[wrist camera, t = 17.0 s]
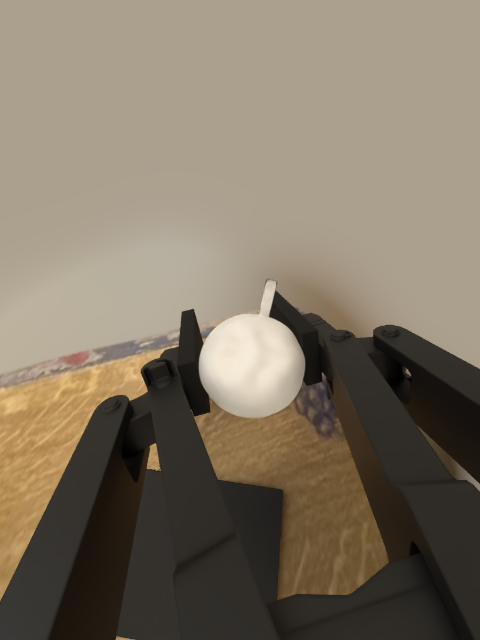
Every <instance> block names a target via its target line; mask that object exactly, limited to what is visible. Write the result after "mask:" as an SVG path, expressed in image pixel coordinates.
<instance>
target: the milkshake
mask: <svg viewBox="0 0 480 640" xmlns="http://www.w3.org/2000/svg"><path fill="white" fill-rule="evenodd" d="M276 286H277V281H276V280H273V279H267V280H266V283H265V288H264V292H263V297H262V302H261V306H260V311H259V315H258V314H241V315H237V316H234V317H231V318H229V319H227V320H226V321H224V322H222V323H221V324H220V325H218V326H217V327H216V328H215V329H214V330H213V331H212V332H211V333H210V334H209V336H208V337H207V339H206V341H205V343H204V345H203V348H202V350H201V353H200V357H199V375H200V380H201V383H202V385H203V387H204V389H205V390H206V392H207V393H208V395H209V396H210V398H211V399H212V400H213V401H214V402H215V403H216V404H217V405H218V406H219V407H220V408H221V409H223V410H224V411H226V412H228V413H230V414H233V415H236V416H239V417H244V418H262V417H266V416H269V415H272V414H275V413H277V412H279V411H281V410H282V409H284V408H285V407H287V406H288V405H289V404H290V403H291V402H292V401H293V400H294V398H295V397H296V396H297V394H298V392H299V390H300V388H301V385H302V382H303V377H304V372H305V357H304V354H303V351H302V349H301V347H300V345H299V343H298V341H297V339H296V337H295V336H294V334H293V333H292V331H291V330H290V329H289V328H288V327H286V326H285V325H284V324H282V323H281V322H279V321H277V320H275V319H273V318H270V317H269V314H270V310H271V306H272V302H273V298H274V294H275V290H276Z"/></svg>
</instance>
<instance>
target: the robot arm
mask: <svg viewBox="0 0 480 640" xmlns="http://www.w3.org/2000/svg"><path fill="white" fill-rule="evenodd" d="M269 317H270V318H273V319H275V320H277V321H279V322H281V323H282V324H284V325H285V326H286V327H288V328H289V329H290V330H291V331H292V333H293V334H294V336H295V337H296V339H297V341H298V343H299V345H300V347H301V349H302V351H303V354H304V357H305V372H304V377H303V381H304V382H305V384H306V385H307V386H309V385H312V384H316V383H320V382H322V372H323V374H324V375H325V376H326V380H327V393H328V399H332V401H333V404H334V407H335V410H336V412H337V415H338V418H339V421H340V423H341V426H342V429H343V432H344V434H345V437H346V440H347V443H348V446H349V448H350V451H351V454H352V457H353V459H354V462H355V465H356V468H357V470H358V473H359V476H360V479H361V482H362V484H363V487H364V490H365V493H366V495H367V498H368V501H369V504H370V506H371V509H372V512H373V515H374V518H375V520H376V523H377V526H378V529H379V531H380V534H381V537H382V540H383V542H384V545H385V548H386V552H387V556H388V560H389V563H388V564H387V565H385V566H384V567H383V568H382V569H381V570H379V571H378V572H377V573H376V574H375V575H373V576H372V577H371V578H370V579H369V580H368V581H366V582H365V583H364V584H363V585H362V586H360V587H359V588H358V589H357V590H356V591H354V592H353V593H352V594H349V595H318V594H295V595H292V596H289V597H286V598H284V599H281V600H278V601H275V602H272V603H269V604H266V603H265V600H264V597H263V595H262V592H261V590H260V587H259V584H258V582H257V579H256V576H255V574H254V571H253V569H252V566H251V563H250V561H249V558H248V556H247V553H246V550H245V548H244V545H243V543H242V540H241V538H240V535H239V533H238V532H237V529H236V527H235V524H234V521H233V519H232V516H231V514H230V511H229V508H228V506H227V503H226V501H225V498H224V495H223V493H222V490H221V487H220V485H219V482H218V480H217V477H216V474H215V472H214V469H213V466H212V464H211V461H210V459H209V456H208V453H207V451H206V448H205V445H204V443H203V440H202V438H201V435H200V432H199V430H198V427H197V424H196V422H195V419H194V417H195V416H198V415H202V414H206V413H209V412H210V402H209V395H208V393H207V392H206V390H205V389H204V387H203V385H202V383H201V380H200V375H199V357H200V353H201V350H202V348H203V345H204V344H203V340H202V337H201V333H200V330H199V326H198V323H197V319H196V316H195V312H194V309H191V310H187V311H183V312H182V316H181V327H180V338H179V347H175V348H171V349H167V350H165V351H164V352H163V353H162V354H161V356H160V358H158V359H154V360H152V361H150V362H148V363H147V364H146V365H144V366H143V368H142V369H141V374H142V377H143V379H144V382H145V384H146V386H147V390H148V392H147V393H145V394H144V395H142V396H140V397H138V398H136V399H134V400H131V401H129V398H128V397H127V396H125V395H117V396H114V397H110V398H108V399H106V400H105V401H103V402H102V403H101V404H100V405H99V406H98V407H97V408H96V409H95V411H94V413H93V415H92V417H91V419H90V421H89V423H88V425H87V427H86V429H85V431H84V433H83V435H82V437H81V439H80V441H79V443H78V445H77V447H76V449H75V451H74V453H73V455H72V457H71V459H70V461H69V463H68V465H67V467H66V469H65V471H64V473H63V475H62V477H61V479H60V482H59V484H58V486H57V488H56V490H55V492H54V494H53V496H52V498H51V500H50V502H49V504H48V506H47V508H46V510H45V512H44V514H43V516H42V518H41V520H40V522H39V524H38V526H37V528H36V530H35V532H34V534H33V536H32V538H31V540H30V542H29V544H28V546H27V548H26V550H25V552H24V554H23V556H22V558H21V560H20V563H19V565H18V567H17V569H16V571H15V573H14V575H13V577H12V579H11V581H10V583H9V585H8V587H7V589H6V591H5V593H4V595H3V597H2V599H1V601H0V640H115V639H116V634H117V628H118V623H119V617H120V612H121V606H122V601H123V595H124V589H125V584H126V578H127V573H128V567H129V562H130V556H131V551H132V545H133V540H134V534H135V529H136V523H137V518H138V512H139V507H140V501H141V496H142V490H143V485H144V479H145V474H146V468H147V463H148V457H149V452H150V445H152V444H154V443H156V445H157V451H158V457H159V463H160V469H161V476H162V482H163V488H164V494H165V500H166V506H167V512H168V519H169V525H170V531H171V537H172V543H173V549H174V555H175V562H176V570H175V571H174V573H173V586H174V595H175V602H176V609H177V615H178V622H179V629H180V636H181V640H480V492H479V491H478V490H477V488H476V487H475V486H474V485H473V484H471V483H470V482H468V481H467V480H456V479H455V478H454V477H452V475H451V474H450V473H449V471H448V470H447V468H446V467H445V465H444V464H443V463H442V461H441V460H440V459H439V457H438V456H437V454H436V453H435V451H434V450H433V448H432V447H431V445H430V444H429V442H428V441H427V440H426V438H425V437H424V435H423V434H422V432H421V431H420V429H419V428H418V426H419V427H420V428H421V429H422V430H423V431H424V432H425V433H426V434H427V435H428V436H429V437H430V438H432V439H433V440H434V441H435V442H436V443H437V444H438V445H439V446H440V447H441V448H442V449H443V450H444V451H446V452H447V453H448V454H449V455H450V456H451V457H452V458H453V459H454V460H455V461H456V462H457V463H458V464H459V465H460V466H461V467H463V468H464V469H465V470H466V471H467V472H468V473H469V474H470V475H471V476H472V477H473V478H474V479H475V480H476V481H477V482H479V483H480V369H479V368H477V367H475V366H473V365H471V364H469V363H467V362H466V361H464V360H462V359H460V358H458V357H456V356H455V355H453V354H451V353H449V352H447V351H445V350H443V349H442V348H440V347H438V346H436V345H434V344H432V343H430V342H429V341H427V340H425V339H423V338H421V337H419V336H418V335H416V334H414V333H412V332H410V331H408V330H407V329H404V328H402V327H399V326H394V325H385V326H380V327H377V328H376V329H374V330H373V337H367V338H356V337H355V335H354V334H353V333H351V332H349V331H346V330H336V329H334V328H333V327H332V326H331V325H330V324H328V323H327V322H326V321H325V320H323V319H322V318H321V317H320V316H318V315H316V314H312V313H309V314H304V315H301V314H300V313H299V312H298V311H297V310H296V309H295V308H294V307H293V306H292V305H291V304H289V302H287V301H286V300H285V299H284V298H283V297H282V296H281V295H280V294H279V293H278V292H277V291H276V290H275V294H274V298H273V302H272V306H271V310H270V314H269ZM406 368H407V369H408V370H409V372H410V373H411V376H409V375H408V374H407V373H406ZM191 409H192V411H191ZM192 412H193V414H192ZM193 415H194V417H193ZM415 423H416V424H417V425H418V426H417V425H416V424H415Z"/></svg>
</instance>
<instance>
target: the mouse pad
mask: <svg viewBox="0 0 480 640" xmlns="http://www.w3.org/2000/svg"><path fill="white" fill-rule="evenodd" d="M218 482H219V485H220V487H221V490H222V493H223V495H224V498H225V501H226V503H227V506H228V508H229V511H230V514H231V516H232V519H233V521H234V524H235V527H236V529H237V532H238V533H239V535H240V538H241V540H242V543H243V545H244V548H245V550H246V553H247V556H248V558H249V561H250V563H251V566H252V569H253V571H254V574H255V576H256V579H257V582H258V584H259V587H260V590H261V592H262V595H263V597H264V600H265V603H266V604H269V603H272V602H275V601H277V585H278V569H279V552H280V536H281V519H282V503H283V490H280V489H274V488H267V487H261V486H254V485H247V484H241V483H234V482H228V481H221V480H218ZM175 570H176V562H175V555H174V549H173V543H172V537H171V531H170V525H169V519H168V512H167V506H166V500H165V494H164V488H163V482H162V476H161V471H156V470H149V469H146V474H145V479H144V485H143V490H142V496H141V501H140V507H139V512H138V518H137V523H136V529H135V534H134V540H133V545H132V551H131V556H130V562H129V567H128V573H127V578H126V584H125V589H124V595H123V601H122V606H121V612H120V617H119V623H118V628H117V634H116V636H119V637H124V638H130V639H135V640H181V636H180V629H179V622H178V615H177V609H176V602H175V595H174V586H173V573H174V571H175Z"/></svg>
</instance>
